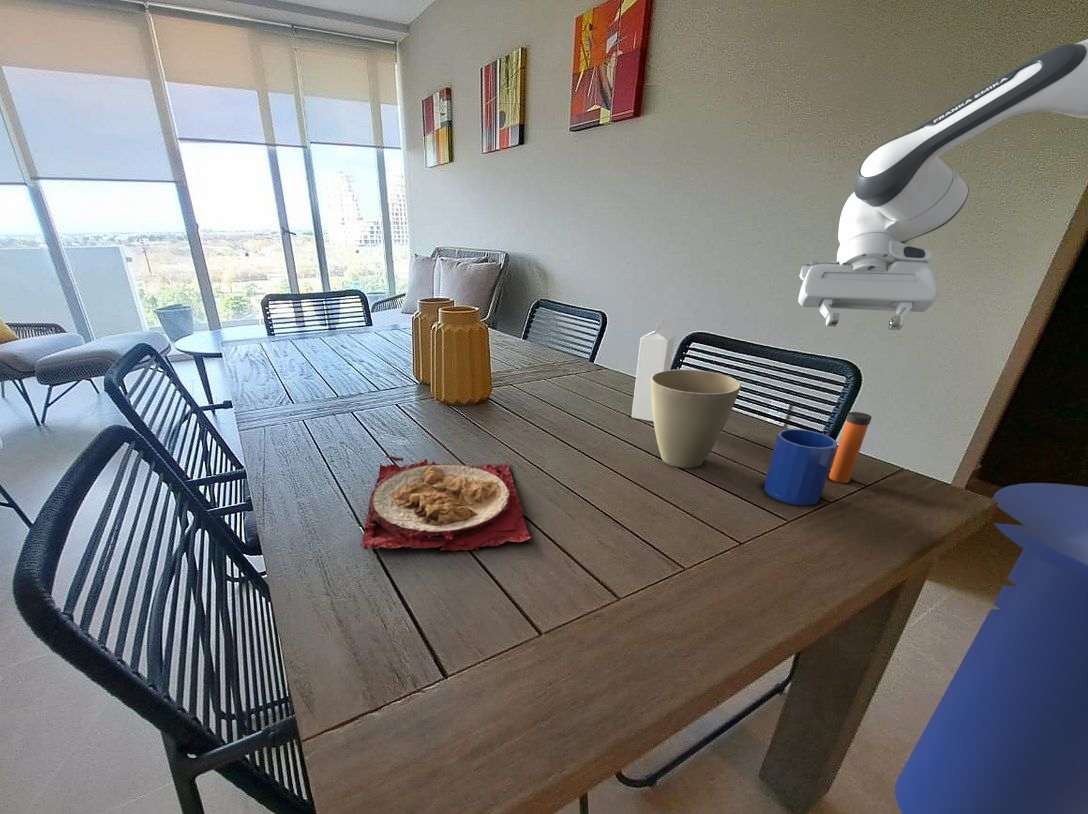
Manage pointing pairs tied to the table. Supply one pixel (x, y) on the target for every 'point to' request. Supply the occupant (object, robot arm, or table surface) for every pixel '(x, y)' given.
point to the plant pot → (690, 413)
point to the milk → (651, 368)
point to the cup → (799, 466)
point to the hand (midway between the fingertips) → (863, 326)
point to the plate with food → (443, 507)
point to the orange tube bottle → (849, 446)
